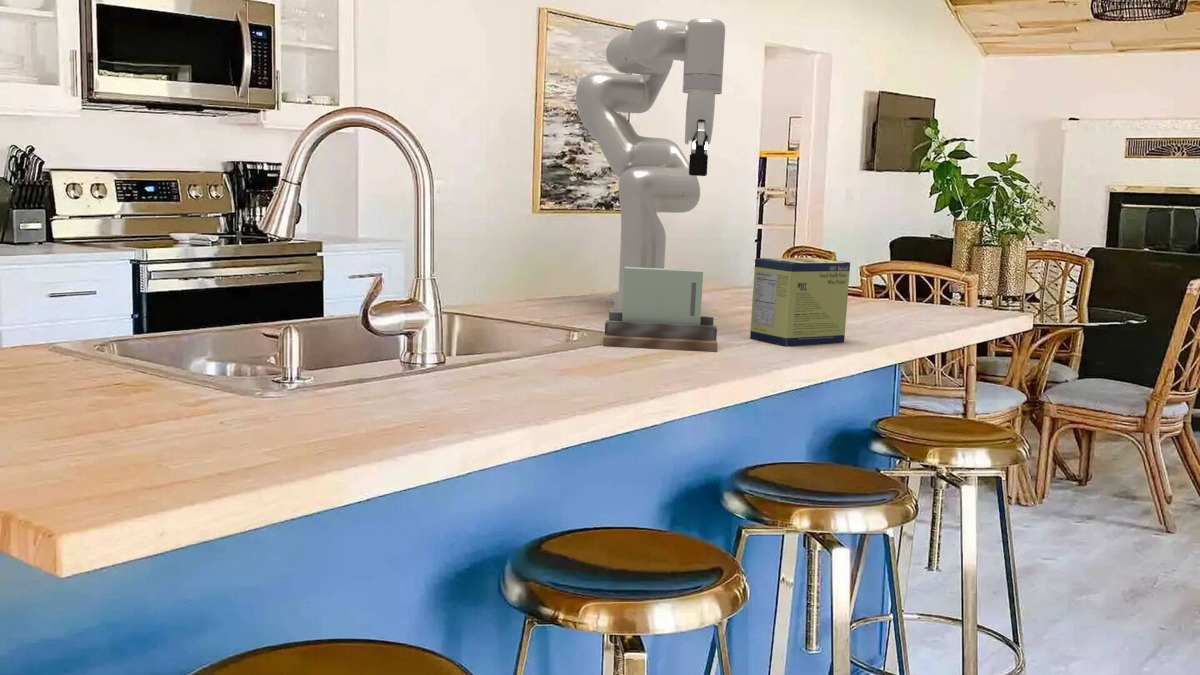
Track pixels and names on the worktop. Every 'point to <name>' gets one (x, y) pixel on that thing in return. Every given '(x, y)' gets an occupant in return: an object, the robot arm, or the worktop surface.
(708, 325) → the door track
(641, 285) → the door panel
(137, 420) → the worktop surface
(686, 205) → the robot arm
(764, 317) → the protein box
